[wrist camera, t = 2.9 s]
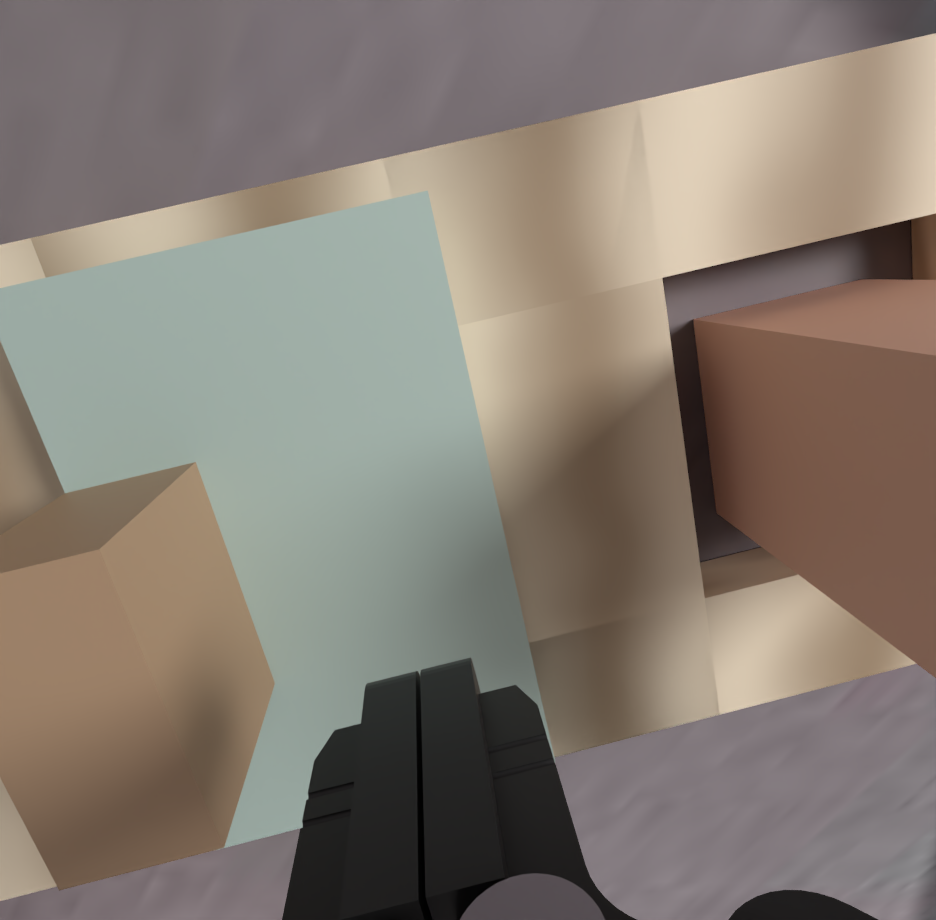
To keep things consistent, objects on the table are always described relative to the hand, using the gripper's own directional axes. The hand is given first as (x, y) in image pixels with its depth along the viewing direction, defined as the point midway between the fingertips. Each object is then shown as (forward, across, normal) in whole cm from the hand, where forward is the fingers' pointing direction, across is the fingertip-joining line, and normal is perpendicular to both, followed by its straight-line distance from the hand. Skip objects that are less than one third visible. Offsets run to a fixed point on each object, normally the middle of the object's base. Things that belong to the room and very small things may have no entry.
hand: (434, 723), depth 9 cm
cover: (+8, +3, 0) cm, 8 cm away
